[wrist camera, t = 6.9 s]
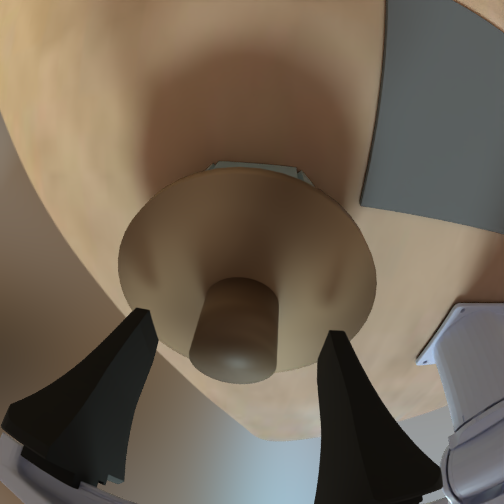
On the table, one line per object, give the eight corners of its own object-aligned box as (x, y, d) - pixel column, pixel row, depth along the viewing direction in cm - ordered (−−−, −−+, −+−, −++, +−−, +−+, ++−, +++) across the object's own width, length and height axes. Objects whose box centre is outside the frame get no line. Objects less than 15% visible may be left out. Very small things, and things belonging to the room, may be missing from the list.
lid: (410, 199, 9) (458, 257, 6) (327, 370, 16) (330, 424, 13) (111, 156, 9) (48, 197, 6) (144, 342, 16) (124, 392, 13)
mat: (544, 70, 6) (547, 71, 5) (509, 234, 13) (511, 236, 13) (385, -26, 6) (387, -28, 6) (359, 203, 14) (360, 206, 13)
